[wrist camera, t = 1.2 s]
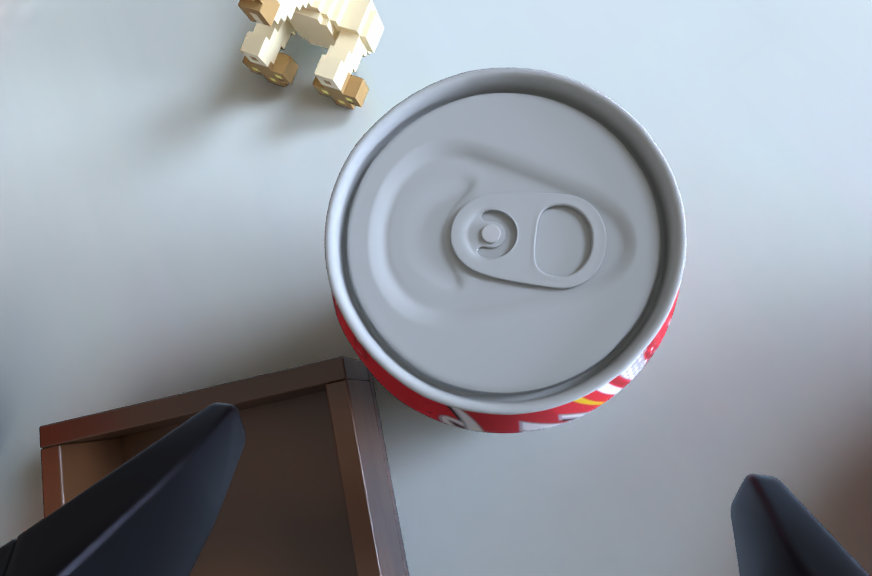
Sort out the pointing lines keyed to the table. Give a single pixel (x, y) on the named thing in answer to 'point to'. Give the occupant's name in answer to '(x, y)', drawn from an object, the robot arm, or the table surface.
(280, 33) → the cat figure
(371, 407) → the walnut box
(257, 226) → the table surface
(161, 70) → the table surface
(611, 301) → the soda can
